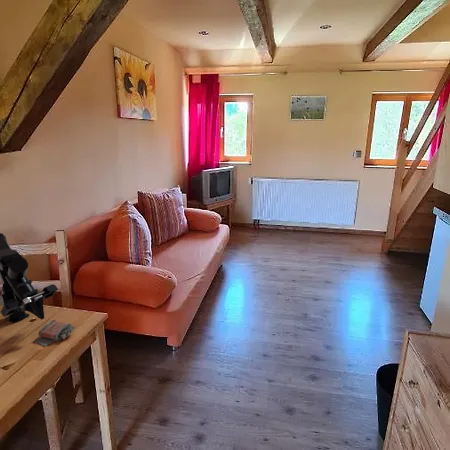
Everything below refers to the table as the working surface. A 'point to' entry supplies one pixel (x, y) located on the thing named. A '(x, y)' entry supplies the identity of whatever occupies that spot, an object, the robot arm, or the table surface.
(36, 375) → the table surface
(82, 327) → the table surface
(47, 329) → the lighter
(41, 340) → the pad
